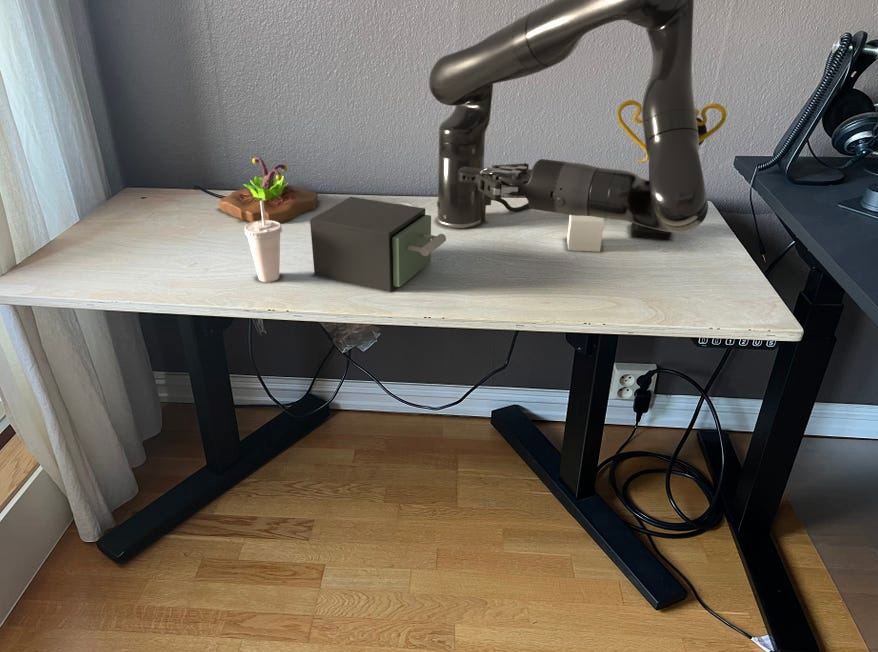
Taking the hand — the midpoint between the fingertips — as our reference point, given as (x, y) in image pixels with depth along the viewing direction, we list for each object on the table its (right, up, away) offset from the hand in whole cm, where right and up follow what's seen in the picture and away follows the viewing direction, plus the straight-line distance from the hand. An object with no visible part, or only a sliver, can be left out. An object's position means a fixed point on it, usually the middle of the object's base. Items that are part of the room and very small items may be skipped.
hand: (459, 174), depth 114 cm
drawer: (-11, -13, +15) cm, 23 cm away
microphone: (+50, +2, +41) cm, 65 cm away
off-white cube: (+26, -7, +25) cm, 37 cm away
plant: (-39, +5, +48) cm, 62 cm away
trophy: (+41, -4, +31) cm, 51 cm away
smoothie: (-33, -15, +14) cm, 39 cm away
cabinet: (-15, -13, +17) cm, 26 cm away
